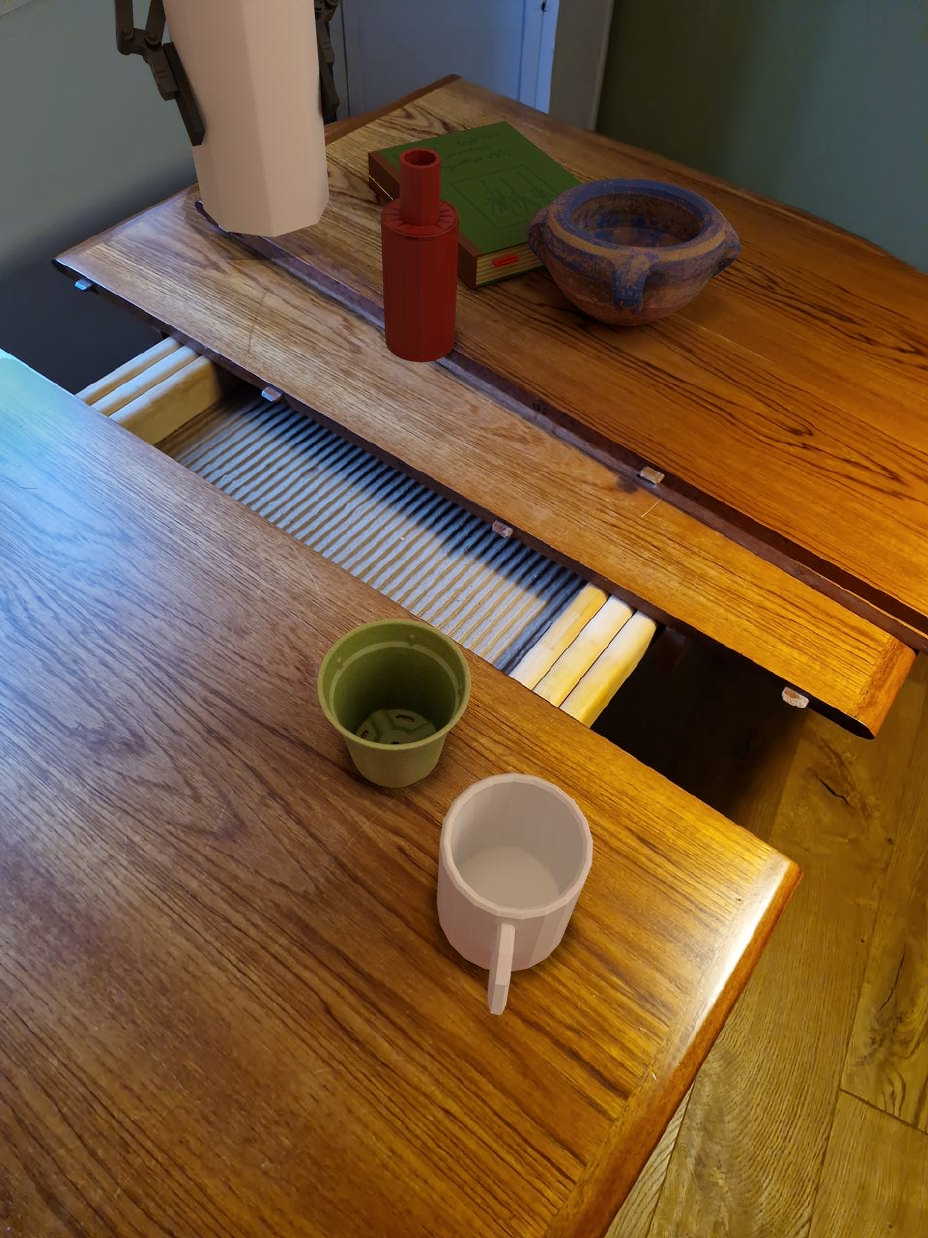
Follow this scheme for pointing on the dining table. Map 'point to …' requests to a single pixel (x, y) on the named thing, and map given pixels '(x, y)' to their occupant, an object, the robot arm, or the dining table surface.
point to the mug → (510, 874)
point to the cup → (255, 110)
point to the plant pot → (394, 696)
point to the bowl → (632, 247)
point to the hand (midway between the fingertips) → (267, 124)
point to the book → (485, 195)
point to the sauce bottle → (419, 262)
